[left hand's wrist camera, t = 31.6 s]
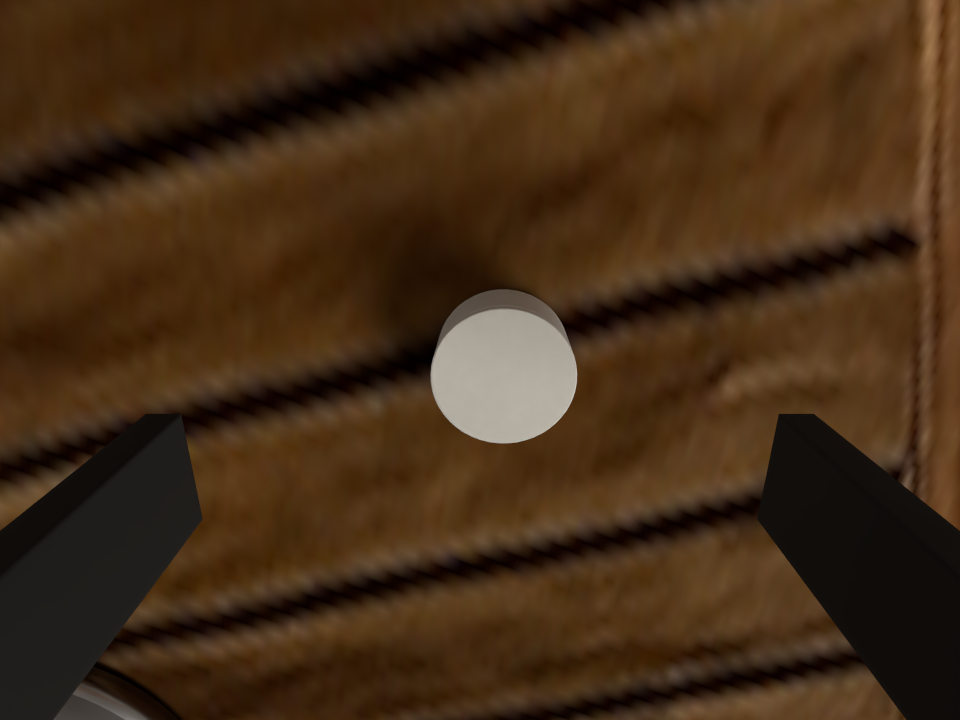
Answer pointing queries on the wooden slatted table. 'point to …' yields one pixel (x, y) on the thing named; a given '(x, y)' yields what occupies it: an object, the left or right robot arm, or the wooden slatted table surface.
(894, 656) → the left robot arm
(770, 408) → the wooden slatted table surface
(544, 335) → the cap
